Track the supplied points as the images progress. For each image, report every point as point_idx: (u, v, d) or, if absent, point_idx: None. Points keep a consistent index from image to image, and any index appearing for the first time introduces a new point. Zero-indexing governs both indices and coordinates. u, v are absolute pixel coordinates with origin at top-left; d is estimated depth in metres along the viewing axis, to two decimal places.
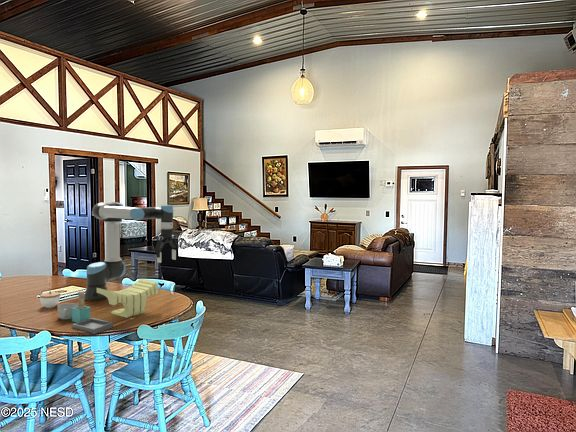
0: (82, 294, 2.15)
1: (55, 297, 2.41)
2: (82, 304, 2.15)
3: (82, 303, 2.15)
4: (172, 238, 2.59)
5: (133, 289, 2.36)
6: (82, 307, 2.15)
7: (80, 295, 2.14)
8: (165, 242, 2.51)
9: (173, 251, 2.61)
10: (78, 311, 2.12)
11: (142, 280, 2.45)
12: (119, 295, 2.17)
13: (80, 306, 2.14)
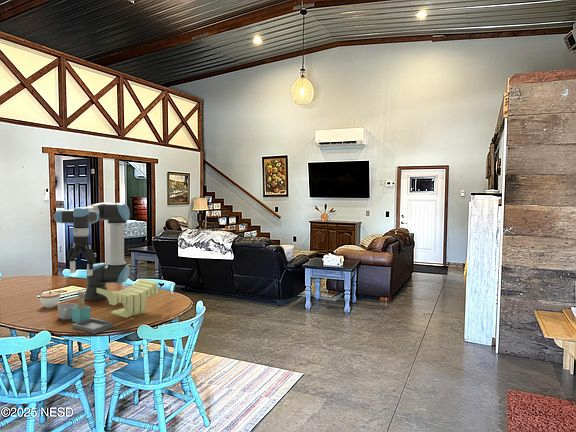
0: (82, 294, 2.15)
1: (55, 297, 2.41)
2: (82, 304, 2.15)
3: (82, 303, 2.15)
4: None
5: (133, 289, 2.36)
6: (82, 307, 2.15)
7: (80, 295, 2.14)
8: (74, 251, 2.14)
9: None
10: (78, 311, 2.12)
11: (142, 280, 2.45)
12: (119, 295, 2.17)
13: (80, 306, 2.14)
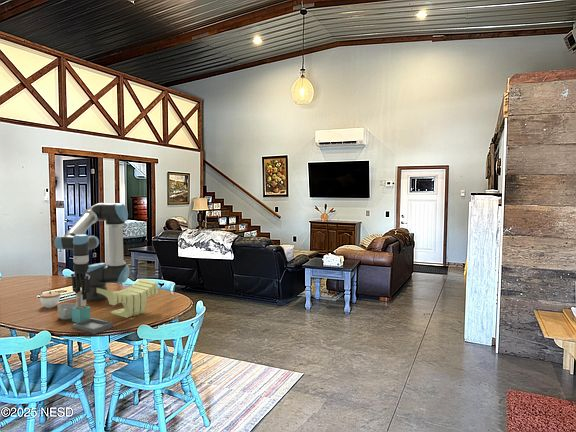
0: None
1: (55, 297, 2.41)
2: None
3: None
4: None
5: (133, 289, 2.36)
6: (82, 307, 2.15)
7: (80, 295, 2.14)
8: (76, 279, 2.14)
9: None
10: (78, 311, 2.12)
11: (142, 280, 2.45)
12: (119, 295, 2.17)
13: (80, 306, 2.14)
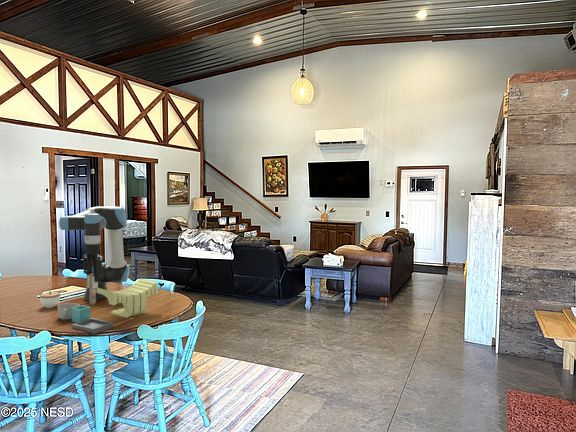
0: None
1: (55, 297, 2.41)
2: None
3: None
4: None
5: (133, 289, 2.36)
6: (94, 290, 2.05)
7: None
8: (87, 261, 2.04)
9: None
10: (78, 311, 2.12)
11: (142, 280, 2.45)
12: (119, 295, 2.17)
13: (91, 289, 2.04)
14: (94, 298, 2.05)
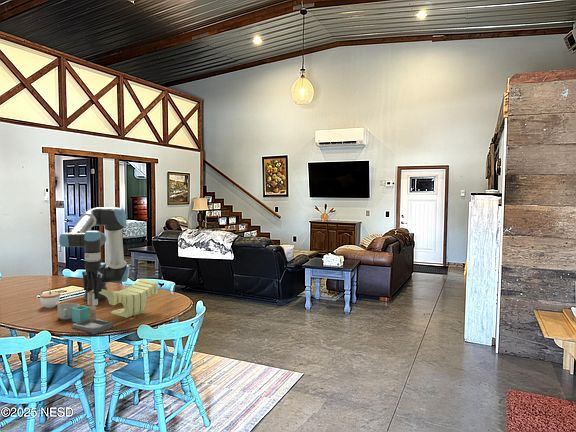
0: None
1: (55, 297, 2.41)
2: None
3: None
4: (98, 276, 2.04)
5: (133, 289, 2.36)
6: (94, 307, 2.05)
7: None
8: (87, 278, 2.05)
9: None
10: (78, 311, 2.12)
11: (142, 280, 2.45)
12: (119, 295, 2.17)
13: (92, 306, 2.05)
14: (94, 315, 2.06)
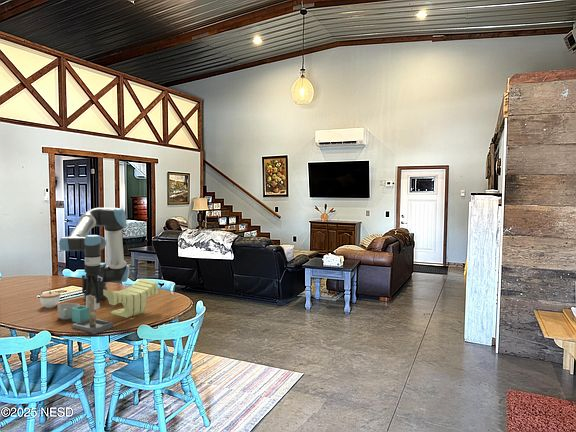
0: (93, 299, 2.05)
1: (55, 297, 2.41)
2: None
3: (93, 308, 2.06)
4: None
5: (133, 289, 2.36)
6: (94, 312, 2.06)
7: (92, 299, 2.05)
8: (87, 282, 2.05)
9: None
10: (78, 311, 2.12)
11: (142, 280, 2.45)
12: (119, 295, 2.17)
13: (91, 311, 2.05)
14: (94, 321, 2.06)
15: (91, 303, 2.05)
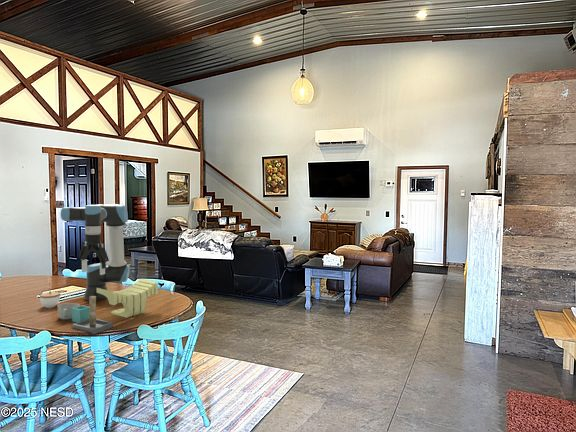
0: (94, 299, 2.05)
1: (55, 297, 2.41)
2: (94, 309, 2.06)
3: (94, 308, 2.06)
4: None
5: (133, 289, 2.36)
6: (94, 312, 2.06)
7: (92, 300, 2.05)
8: (86, 249, 2.09)
9: None
10: (78, 311, 2.12)
11: (142, 280, 2.45)
12: (119, 295, 2.17)
13: (92, 311, 2.05)
14: (94, 321, 2.06)
15: (91, 303, 2.05)
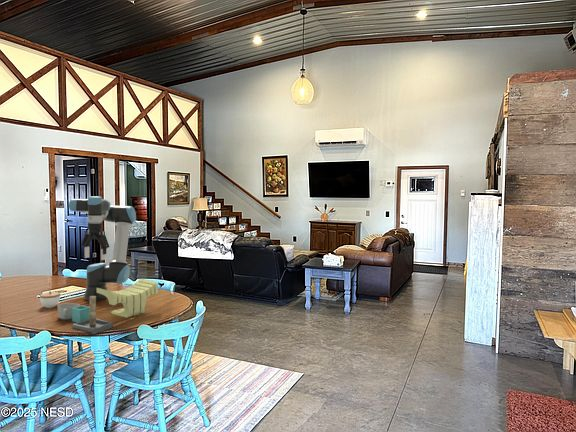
0: (94, 299, 2.05)
1: (55, 297, 2.41)
2: (94, 309, 2.06)
3: (94, 308, 2.06)
4: None
5: (133, 289, 2.36)
6: (94, 312, 2.06)
7: (92, 300, 2.05)
8: (88, 237, 2.29)
9: None
10: (78, 311, 2.12)
11: (142, 280, 2.45)
12: (119, 295, 2.17)
13: (92, 311, 2.05)
14: (94, 321, 2.06)
15: (91, 303, 2.05)
